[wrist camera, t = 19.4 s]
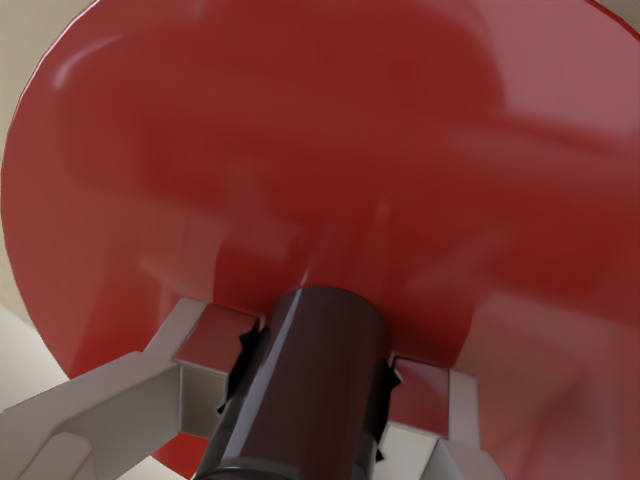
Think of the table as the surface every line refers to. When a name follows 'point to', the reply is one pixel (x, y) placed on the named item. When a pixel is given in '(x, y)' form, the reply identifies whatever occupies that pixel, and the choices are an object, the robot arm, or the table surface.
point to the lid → (346, 216)
